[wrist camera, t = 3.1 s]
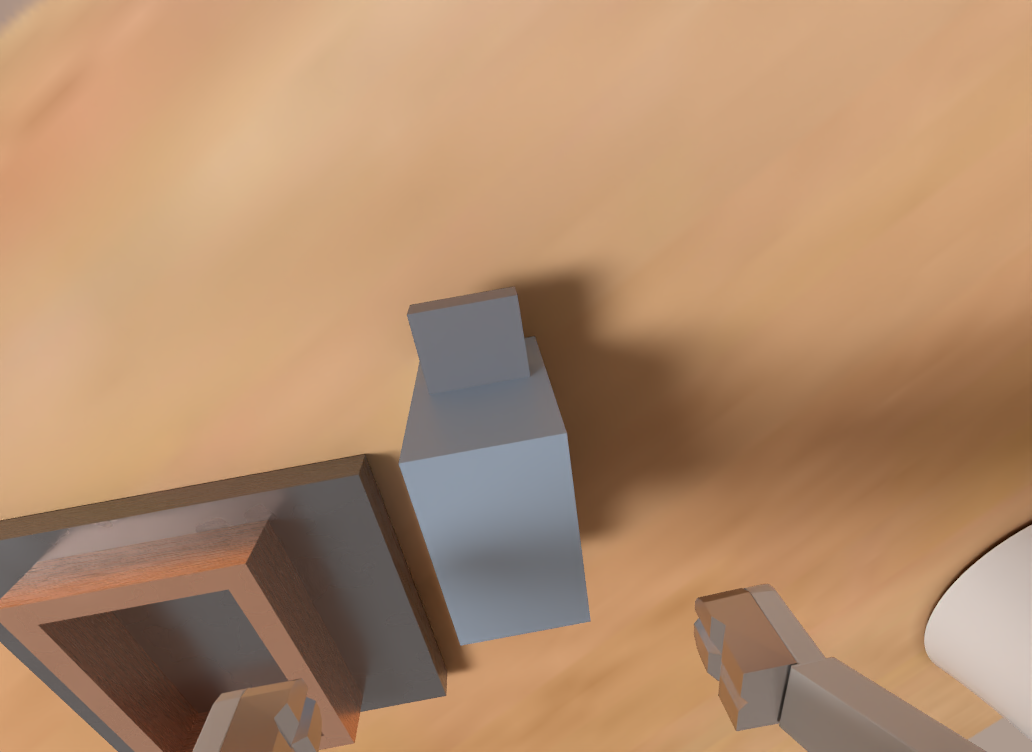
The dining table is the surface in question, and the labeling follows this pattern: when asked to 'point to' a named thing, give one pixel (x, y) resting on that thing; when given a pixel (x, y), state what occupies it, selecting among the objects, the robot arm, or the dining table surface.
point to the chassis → (219, 603)
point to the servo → (492, 471)
